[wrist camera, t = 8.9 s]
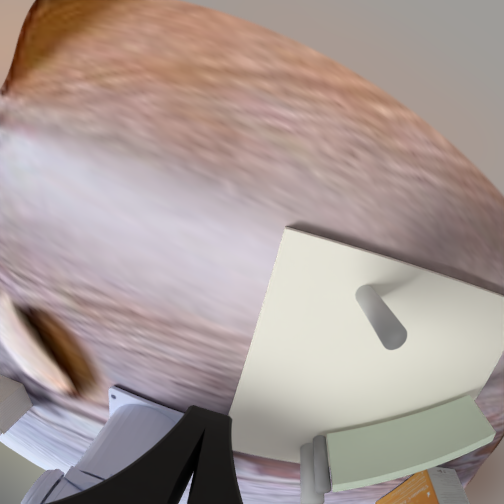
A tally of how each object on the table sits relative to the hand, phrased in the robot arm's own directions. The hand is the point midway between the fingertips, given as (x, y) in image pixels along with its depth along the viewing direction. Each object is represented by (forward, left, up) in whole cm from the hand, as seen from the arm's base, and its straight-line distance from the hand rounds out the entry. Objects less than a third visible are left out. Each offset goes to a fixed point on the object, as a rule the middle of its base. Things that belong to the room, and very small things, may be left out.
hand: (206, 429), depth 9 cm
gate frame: (-3, -11, -10) cm, 15 cm away
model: (-21, +26, -11) cm, 36 cm away
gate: (-6, -13, -9) cm, 17 cm away
